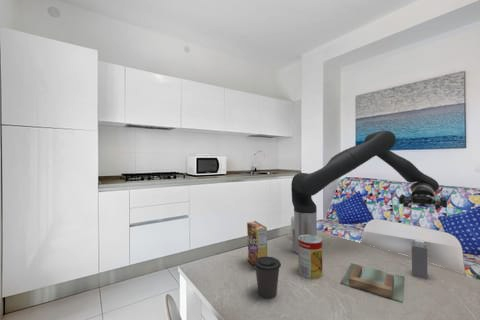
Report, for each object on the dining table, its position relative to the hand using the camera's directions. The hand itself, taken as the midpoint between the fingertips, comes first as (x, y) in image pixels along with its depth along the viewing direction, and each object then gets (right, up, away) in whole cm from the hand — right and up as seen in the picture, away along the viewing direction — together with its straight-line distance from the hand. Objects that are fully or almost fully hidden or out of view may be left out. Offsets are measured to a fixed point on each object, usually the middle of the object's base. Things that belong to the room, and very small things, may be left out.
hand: (421, 205), depth 83 cm
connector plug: (-6, -22, -6) cm, 24 cm away
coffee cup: (-58, -23, -15) cm, 64 cm away
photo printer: (-36, -22, +30) cm, 52 cm away
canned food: (-42, -23, -4) cm, 48 cm away
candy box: (-59, -23, +2) cm, 64 cm away
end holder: (-22, -22, -8) cm, 33 cm away
